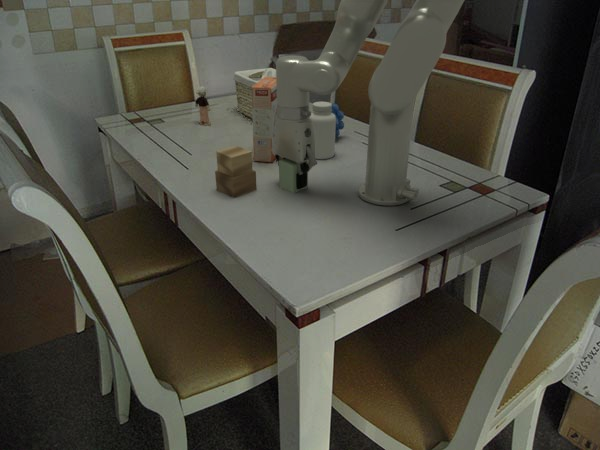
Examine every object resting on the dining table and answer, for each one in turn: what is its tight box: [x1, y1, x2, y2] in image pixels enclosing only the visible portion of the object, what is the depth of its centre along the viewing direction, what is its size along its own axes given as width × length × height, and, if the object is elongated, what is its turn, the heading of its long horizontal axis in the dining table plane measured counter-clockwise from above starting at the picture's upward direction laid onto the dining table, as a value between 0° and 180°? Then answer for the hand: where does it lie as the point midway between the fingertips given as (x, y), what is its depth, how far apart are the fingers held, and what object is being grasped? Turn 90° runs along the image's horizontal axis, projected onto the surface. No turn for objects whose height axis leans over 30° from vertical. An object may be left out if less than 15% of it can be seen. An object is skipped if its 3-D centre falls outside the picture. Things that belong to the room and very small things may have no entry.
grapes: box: [331, 103, 345, 138], centre depth 156 cm, size 12×7×12 cm, turn 124°
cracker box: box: [252, 77, 277, 163], centre depth 143 cm, size 14×6×21 cm, turn 168°
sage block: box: [278, 159, 309, 194], centre depth 125 cm, size 5×5×7 cm
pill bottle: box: [309, 101, 336, 160], centre depth 144 cm, size 8×8×15 cm
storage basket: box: [233, 67, 276, 120], centre depth 181 cm, size 24×16×15 cm
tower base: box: [214, 169, 258, 199], centre depth 124 cm, size 7×7×5 cm
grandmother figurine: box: [194, 86, 212, 126], centre depth 172 cm, size 8×4×13 cm, turn 58°
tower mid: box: [215, 145, 254, 178], centre depth 122 cm, size 6×6×5 cm
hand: (293, 183), depth 126 cm, fingers closed on sage block, 5 cm apart
